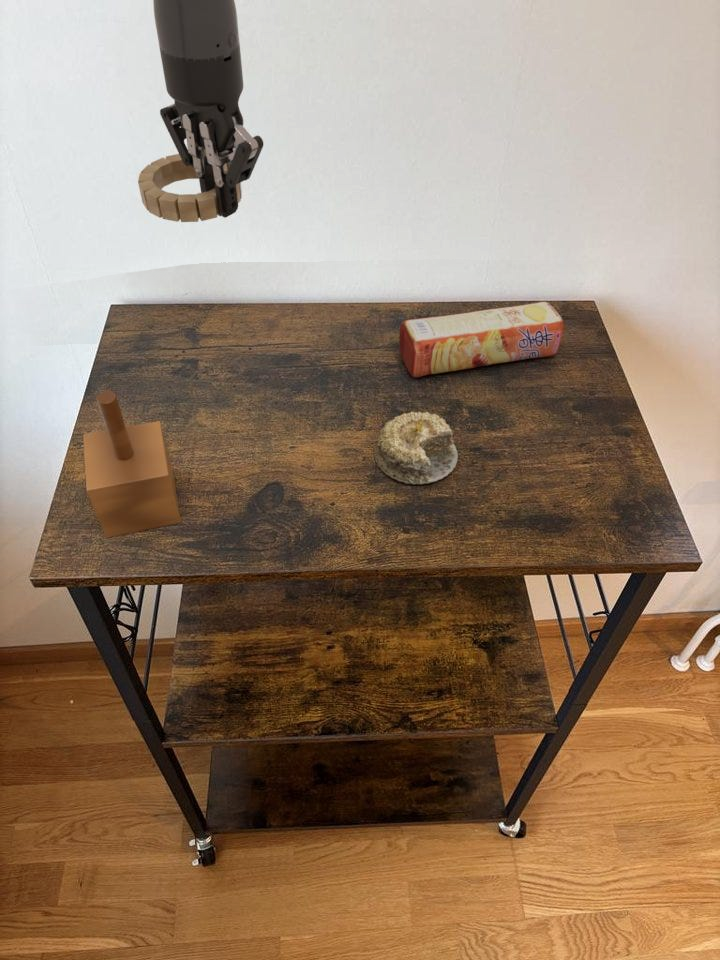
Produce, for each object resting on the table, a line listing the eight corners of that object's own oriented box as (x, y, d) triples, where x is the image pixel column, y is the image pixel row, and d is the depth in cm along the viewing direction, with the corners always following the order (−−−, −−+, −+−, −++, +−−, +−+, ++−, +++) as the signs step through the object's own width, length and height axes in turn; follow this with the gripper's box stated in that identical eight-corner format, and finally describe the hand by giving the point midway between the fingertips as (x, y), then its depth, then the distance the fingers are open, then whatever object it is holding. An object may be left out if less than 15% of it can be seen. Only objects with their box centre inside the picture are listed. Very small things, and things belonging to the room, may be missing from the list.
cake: (360, 473, 86) (358, 440, 82) (393, 420, 92) (392, 387, 88) (440, 497, 83) (442, 464, 79) (469, 440, 89) (472, 406, 85)
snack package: (540, 331, 103) (550, 290, 98) (560, 361, 99) (572, 320, 94) (395, 353, 99) (398, 312, 94) (409, 385, 95) (414, 344, 90)
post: (106, 538, 78) (63, 434, 66) (101, 483, 83) (61, 376, 71) (181, 522, 80) (153, 418, 68) (172, 469, 85) (145, 363, 73)
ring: (241, 220, 81) (238, 200, 79) (137, 223, 80) (133, 203, 78) (242, 171, 88) (240, 151, 86) (147, 173, 87) (143, 153, 85)
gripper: (120, 32, 70) (154, 202, 83) (220, 71, 64) (240, 247, 78) (180, 12, 74) (204, 178, 87) (279, 47, 68) (288, 218, 81)
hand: (221, 209), depth 82 cm, fingers closed on ring, 1 cm apart
